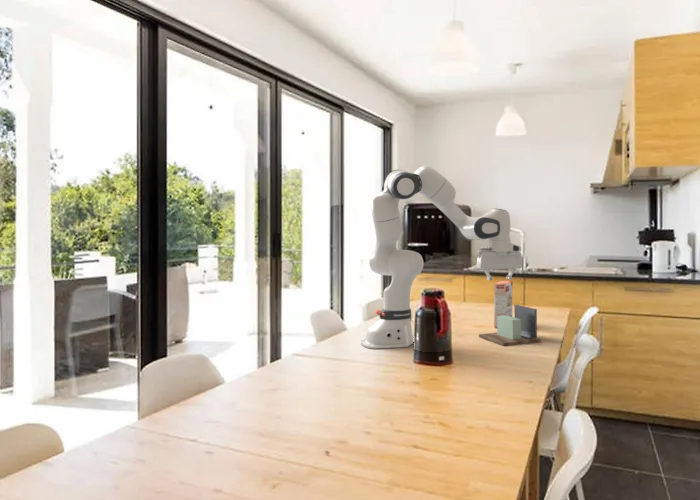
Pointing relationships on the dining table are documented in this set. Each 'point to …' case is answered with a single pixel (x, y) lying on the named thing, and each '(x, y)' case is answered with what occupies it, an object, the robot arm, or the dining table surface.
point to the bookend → (527, 321)
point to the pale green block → (509, 327)
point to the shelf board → (507, 339)
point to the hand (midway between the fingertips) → (499, 279)
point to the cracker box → (502, 299)
